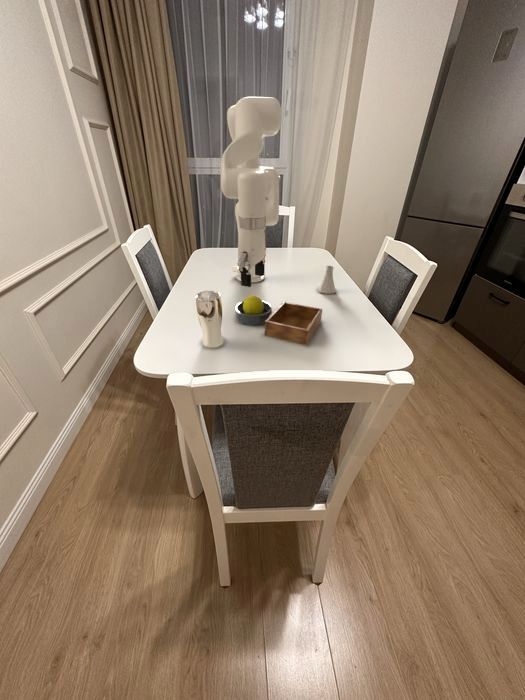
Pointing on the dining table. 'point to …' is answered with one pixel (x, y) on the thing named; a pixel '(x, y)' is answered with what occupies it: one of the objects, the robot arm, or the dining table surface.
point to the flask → (327, 282)
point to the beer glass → (210, 317)
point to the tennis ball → (253, 305)
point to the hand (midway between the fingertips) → (253, 280)
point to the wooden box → (293, 322)
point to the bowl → (253, 319)
